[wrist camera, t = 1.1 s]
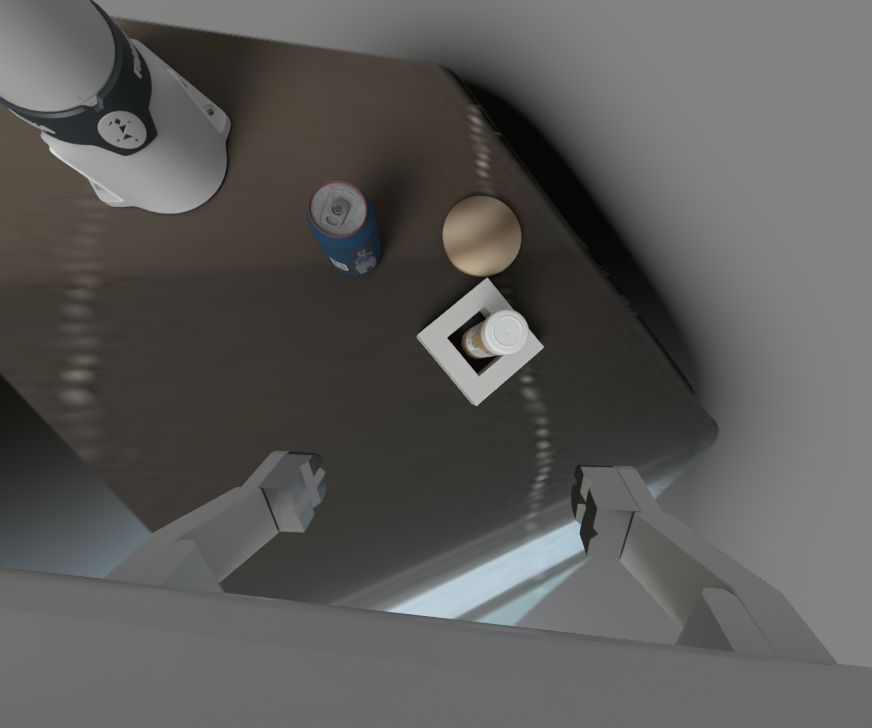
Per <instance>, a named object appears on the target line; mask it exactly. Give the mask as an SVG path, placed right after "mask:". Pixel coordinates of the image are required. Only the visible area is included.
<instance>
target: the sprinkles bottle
mask: <svg viewBox="0 0 872 728" xmlns="http://www.w3.org/2000/svg"><path fill="white" fill-rule="evenodd" d="M528 335H529V329H528V325H527V322H526V320H525V319H524V317H523V316H522V315H521V314H519V313H518V312H516V311H514V310H510V309H502V310H499V311H496V312H495V313H493V314H491V315H490V316H488V317H487V318H486V320H485V321H483V322H481V323H479V324H477V325H476V326H474V327H472V328H470V329H468V330H467V331H466V332H465V333H464V335H463V337H462V348H463V350H464V352H465V353H466V354H467V355H468V356H469V357H472V358H475V359H480V358H483V357H490V356H496V355H509V354H513V353H516V352H518V351H519V350H521V349H522V348H523V347H524V345H525V344H526V342H527V339H528Z"/></svg>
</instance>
